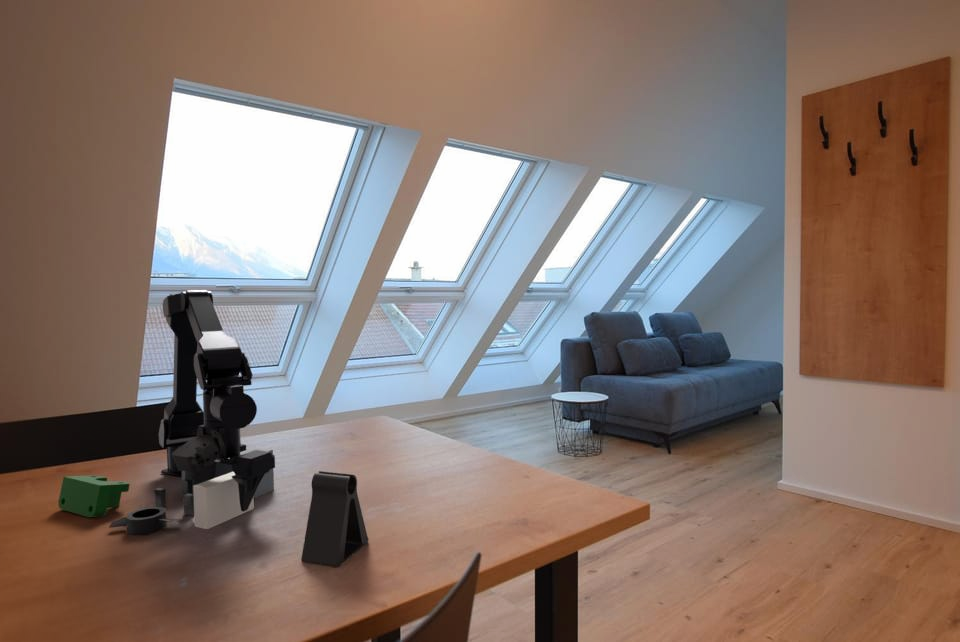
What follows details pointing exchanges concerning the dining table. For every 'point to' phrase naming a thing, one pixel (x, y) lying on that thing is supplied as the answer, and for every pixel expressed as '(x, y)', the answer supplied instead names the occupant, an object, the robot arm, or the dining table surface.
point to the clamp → (90, 495)
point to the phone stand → (333, 520)
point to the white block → (217, 501)
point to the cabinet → (223, 469)
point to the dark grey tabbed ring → (144, 521)
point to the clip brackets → (187, 497)
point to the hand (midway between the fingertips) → (225, 506)
